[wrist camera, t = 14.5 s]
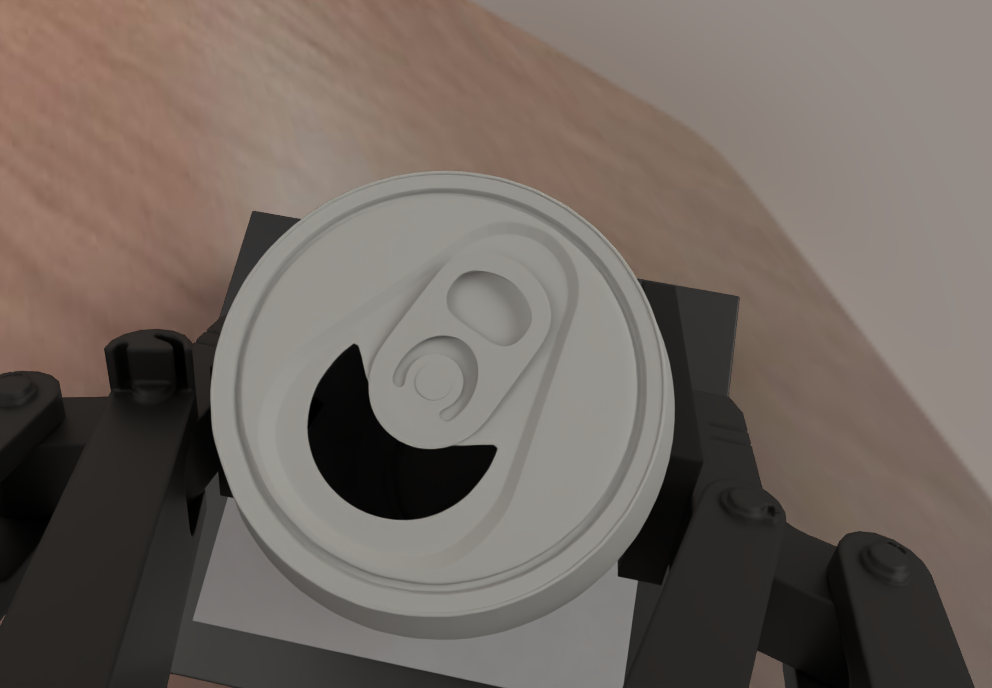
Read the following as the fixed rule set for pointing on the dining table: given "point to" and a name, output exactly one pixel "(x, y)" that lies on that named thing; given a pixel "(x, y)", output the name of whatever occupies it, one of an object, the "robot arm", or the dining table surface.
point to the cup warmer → (396, 659)
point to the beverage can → (443, 405)
